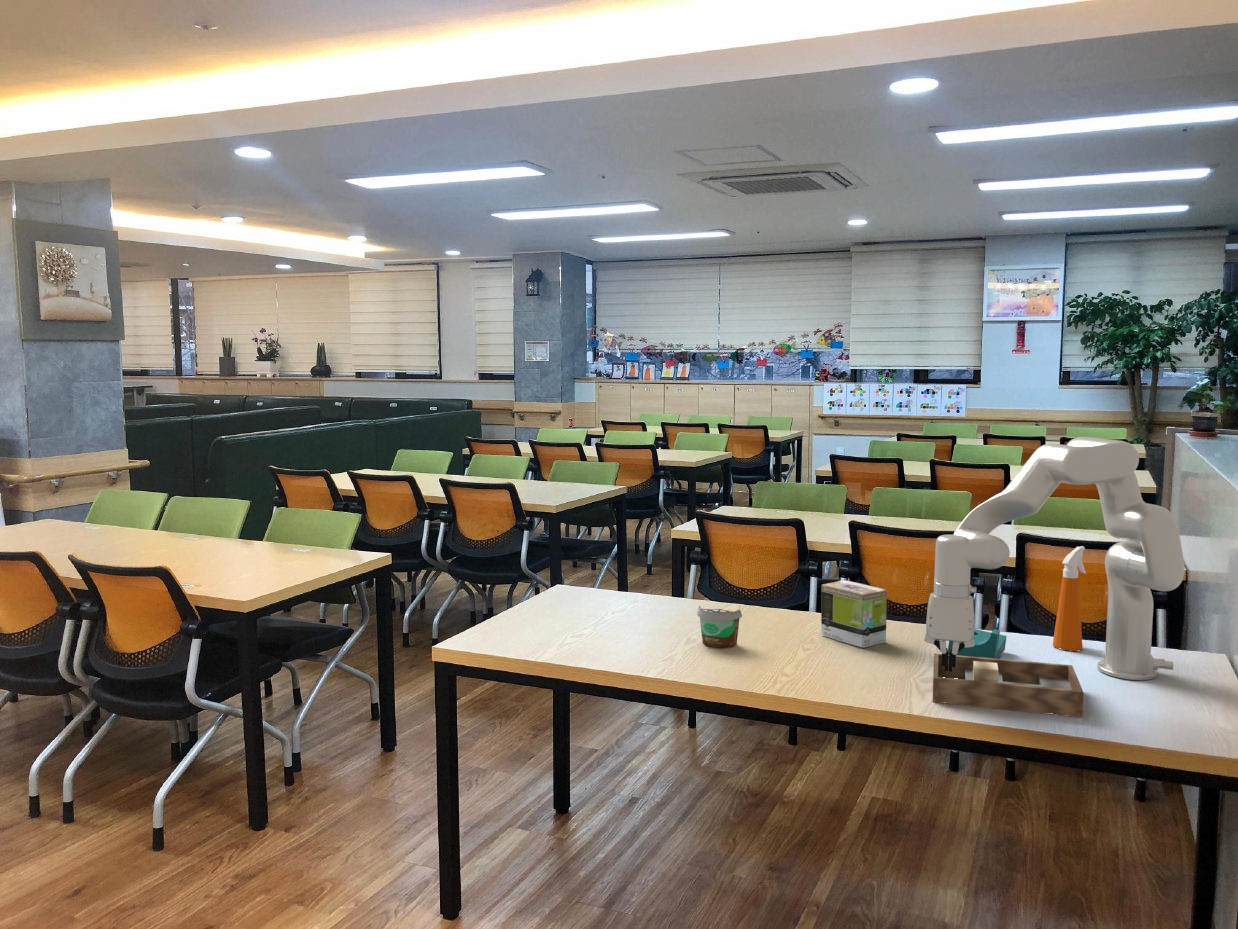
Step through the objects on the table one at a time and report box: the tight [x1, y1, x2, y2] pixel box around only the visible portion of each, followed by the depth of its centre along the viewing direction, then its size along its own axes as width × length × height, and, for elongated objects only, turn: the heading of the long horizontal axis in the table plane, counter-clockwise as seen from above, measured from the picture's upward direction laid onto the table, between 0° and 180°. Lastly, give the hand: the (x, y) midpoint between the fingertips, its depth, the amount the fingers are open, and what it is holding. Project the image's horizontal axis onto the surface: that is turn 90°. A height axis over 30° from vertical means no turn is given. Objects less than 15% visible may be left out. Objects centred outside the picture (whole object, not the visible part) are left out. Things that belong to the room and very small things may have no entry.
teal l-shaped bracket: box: [947, 628, 1007, 659], centre depth 231 cm, size 18×11×10 cm, turn 149°
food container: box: [696, 605, 743, 650], centre depth 245 cm, size 12×6×10 cm, turn 68°
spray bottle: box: [1052, 545, 1087, 652], centre depth 239 cm, size 7×11×26 cm, turn 125°
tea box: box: [820, 579, 888, 649], centre depth 249 cm, size 15×10×15 cm, turn 34°
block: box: [973, 661, 998, 683], centre depth 205 cm, size 5×5×5 cm
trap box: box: [932, 652, 1084, 718], centre depth 207 cm, size 30×18×6 cm, turn 71°
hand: (948, 669), depth 207 cm, fingers closed
